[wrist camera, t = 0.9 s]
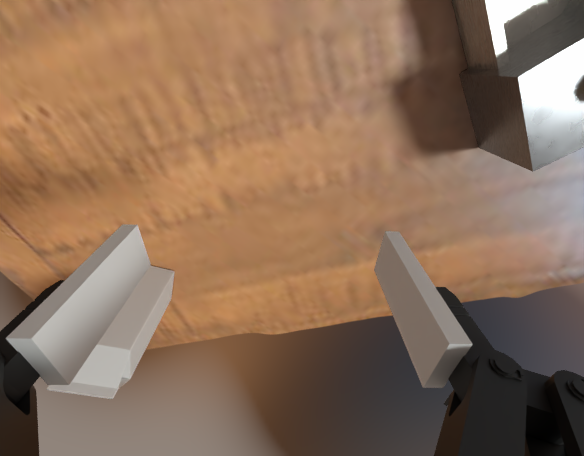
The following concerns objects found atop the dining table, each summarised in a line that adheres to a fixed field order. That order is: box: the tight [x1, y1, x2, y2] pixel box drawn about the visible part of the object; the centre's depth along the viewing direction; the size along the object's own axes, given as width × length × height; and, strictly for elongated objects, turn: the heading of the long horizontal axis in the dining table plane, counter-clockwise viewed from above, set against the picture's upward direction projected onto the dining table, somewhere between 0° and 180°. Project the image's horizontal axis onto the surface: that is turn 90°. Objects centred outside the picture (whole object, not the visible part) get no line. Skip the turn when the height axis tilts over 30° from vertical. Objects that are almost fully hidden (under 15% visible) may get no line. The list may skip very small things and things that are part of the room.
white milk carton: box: [47, 266, 174, 399], centre depth 38 cm, size 7×7×19 cm
